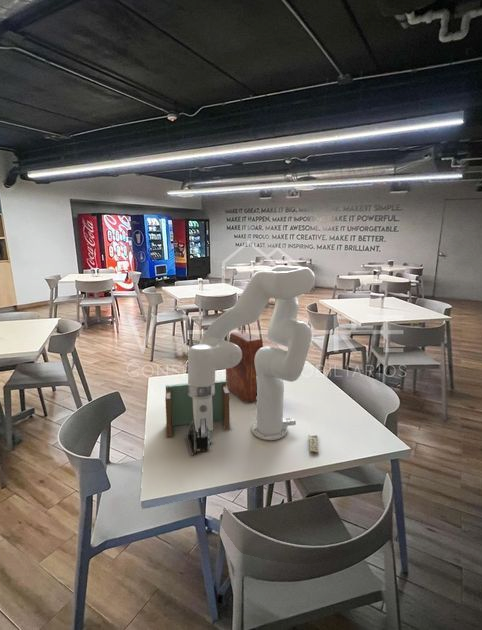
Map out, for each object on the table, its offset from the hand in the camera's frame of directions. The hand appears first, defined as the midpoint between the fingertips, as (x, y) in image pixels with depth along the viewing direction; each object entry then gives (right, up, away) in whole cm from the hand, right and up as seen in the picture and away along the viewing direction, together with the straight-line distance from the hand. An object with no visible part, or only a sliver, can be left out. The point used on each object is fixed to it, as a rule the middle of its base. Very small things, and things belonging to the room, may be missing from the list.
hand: (201, 446), depth 98 cm
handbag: (+10, +3, +54) cm, 55 cm away
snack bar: (+35, -5, +15) cm, 39 cm away
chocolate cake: (-3, -5, +14) cm, 16 cm away
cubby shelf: (-6, -3, +25) cm, 26 cm away
